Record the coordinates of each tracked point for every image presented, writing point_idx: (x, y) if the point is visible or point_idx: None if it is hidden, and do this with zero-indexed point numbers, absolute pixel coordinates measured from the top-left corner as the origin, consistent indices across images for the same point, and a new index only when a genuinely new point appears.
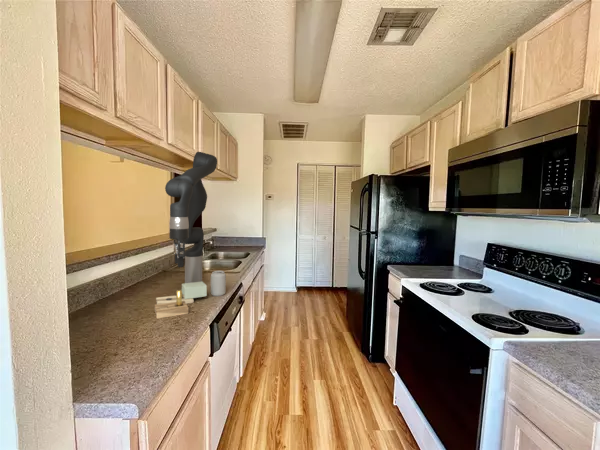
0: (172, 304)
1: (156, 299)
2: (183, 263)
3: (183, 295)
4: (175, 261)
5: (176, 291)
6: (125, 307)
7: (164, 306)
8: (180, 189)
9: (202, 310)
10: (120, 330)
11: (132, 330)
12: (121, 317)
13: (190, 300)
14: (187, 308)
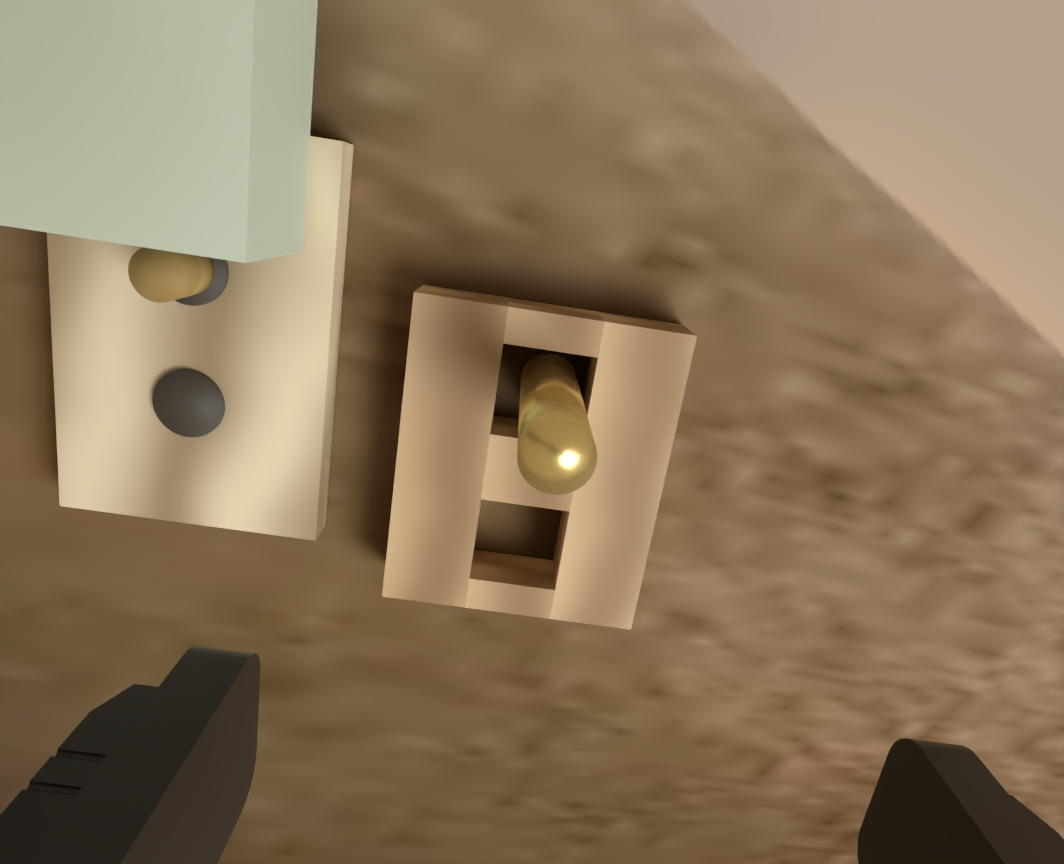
0: (478, 449)
1: (117, 511)
2: (1030, 828)
3: None
4: (222, 831)
5: (555, 491)
6: None
7: (476, 525)
8: None
9: (693, 156)
10: (688, 829)
11: (746, 773)
12: (417, 795)
13: (343, 183)
14: (694, 345)
